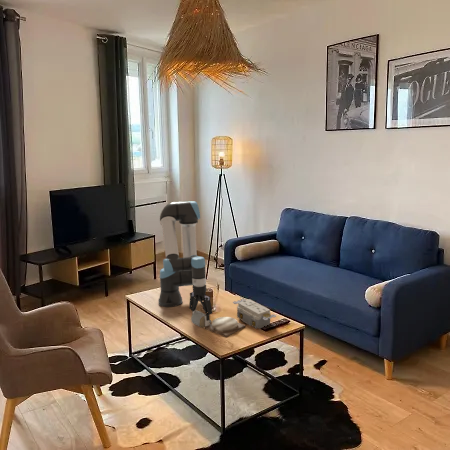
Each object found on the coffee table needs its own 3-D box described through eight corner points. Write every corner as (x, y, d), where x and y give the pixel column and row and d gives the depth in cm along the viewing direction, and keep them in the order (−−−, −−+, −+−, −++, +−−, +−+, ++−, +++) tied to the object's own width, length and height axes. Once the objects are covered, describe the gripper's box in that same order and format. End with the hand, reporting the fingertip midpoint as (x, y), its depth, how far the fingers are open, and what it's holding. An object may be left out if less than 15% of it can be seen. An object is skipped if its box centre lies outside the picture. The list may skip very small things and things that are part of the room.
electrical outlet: (245, 311, 270) (245, 295, 268) (278, 329, 249) (279, 312, 246) (229, 316, 263) (230, 300, 261) (262, 335, 242) (263, 318, 239)
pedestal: (204, 329, 248) (204, 322, 247) (223, 319, 260) (223, 313, 259) (226, 337, 238) (226, 330, 237) (245, 327, 249) (245, 320, 249)
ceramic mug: (200, 330, 247) (199, 316, 245) (191, 325, 253) (190, 312, 251) (214, 324, 254) (214, 311, 252) (205, 320, 260) (205, 307, 258)
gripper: (181, 283, 252) (183, 321, 256) (208, 290, 238) (210, 330, 242) (190, 279, 258) (192, 316, 262) (218, 286, 244) (219, 326, 248)
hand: (201, 323), depth 252 cm, fingers open, 9 cm apart
